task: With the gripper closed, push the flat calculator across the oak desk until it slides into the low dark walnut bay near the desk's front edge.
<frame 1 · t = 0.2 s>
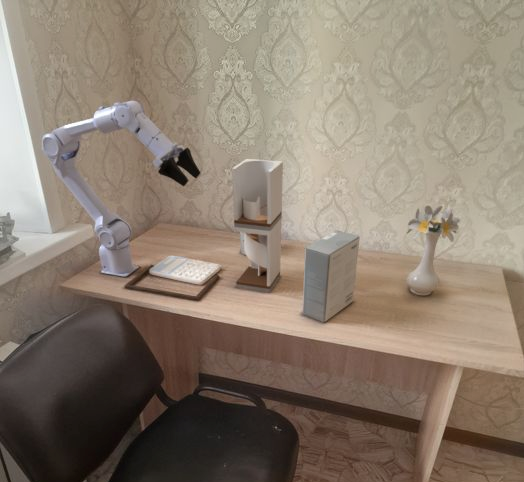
hand: (192, 179, 127), 31 cm above the table, tool tilted 45°, fingers open, 7 cm apart
flower vase: (419, 290, 140), on the table
walnut bay: (173, 283, 144), on the table
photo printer: (251, 250, 166), on the table
white shelf tower: (258, 282, 145), on the table
hard drive box: (327, 308, 131), on the table
calculator: (185, 272, 151), on the table
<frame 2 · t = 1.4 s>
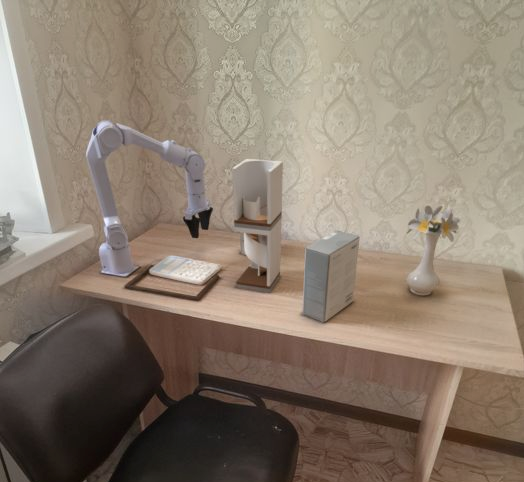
hand: (200, 233, 155), 9 cm above the table, tool pointing down, fingers open, 7 cm apart
nothing on the table moved.
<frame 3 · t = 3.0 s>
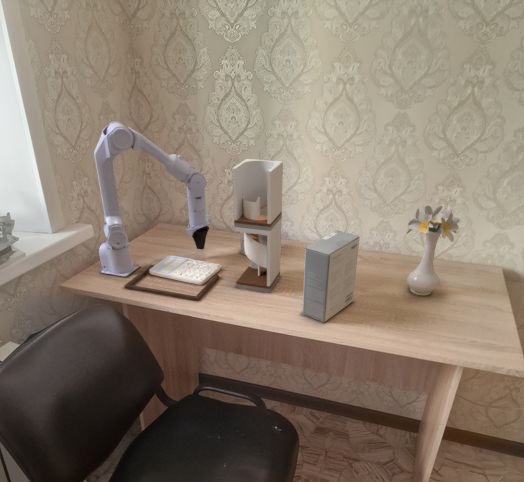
hand: (200, 248, 158), 3 cm above the table, tool pointing down, fingers closed
nothing on the table moved.
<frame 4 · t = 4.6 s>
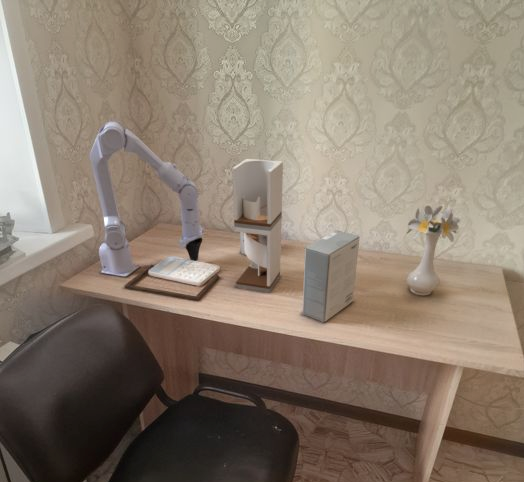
hand: (194, 260, 155), 1 cm above the table, tool pointing down, fingers closed
calculator: (184, 273, 150), on the table, touching gripper
everything else where it was.
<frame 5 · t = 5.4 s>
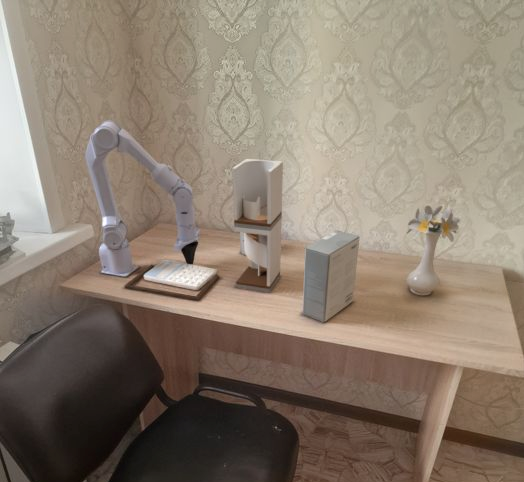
hand: (189, 263, 152), 1 cm above the table, tool pointing down, fingers closed
calculator: (180, 277, 148), on the table, touching gripper
everything else where it was.
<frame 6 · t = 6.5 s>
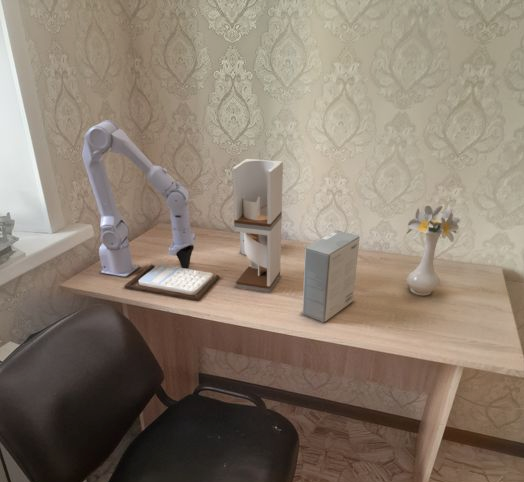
hand: (185, 267, 150), 1 cm above the table, tool pointing down, fingers closed
calculator: (176, 282, 145), on the table, touching gripper
everything else where it was.
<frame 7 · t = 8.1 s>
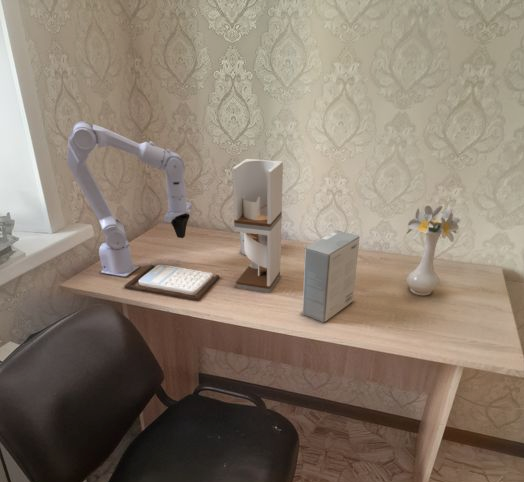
hand: (181, 237, 151), 9 cm above the table, tool pointing down, fingers closed
calculator: (176, 282, 145), on the table
everything else where it was.
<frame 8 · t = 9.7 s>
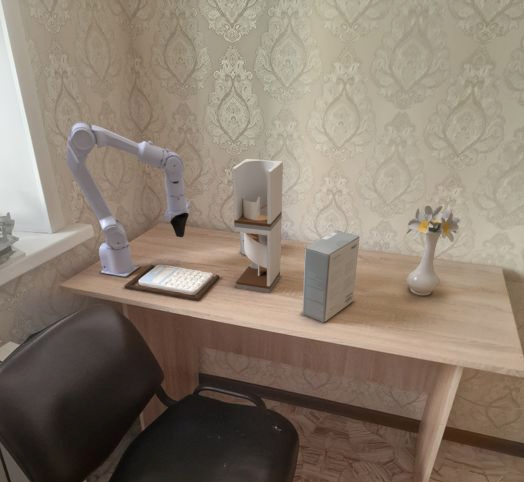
hand: (180, 236, 151), 9 cm above the table, tool pointing down, fingers closed
nothing on the table moved.
at the end: calculator 0.6 cm from the target spot, on the table; calculator tilted 0°; calculator moved 7.2 cm from its start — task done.
